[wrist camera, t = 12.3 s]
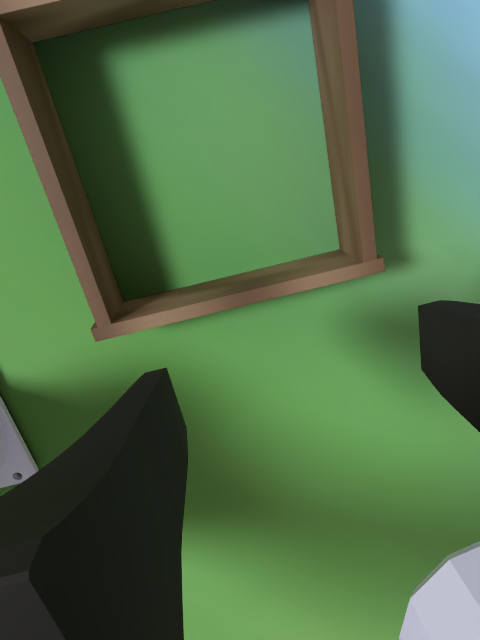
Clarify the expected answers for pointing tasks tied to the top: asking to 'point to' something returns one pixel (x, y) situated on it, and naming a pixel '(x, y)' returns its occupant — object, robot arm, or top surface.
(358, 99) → the walnut box
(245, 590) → the top surface
